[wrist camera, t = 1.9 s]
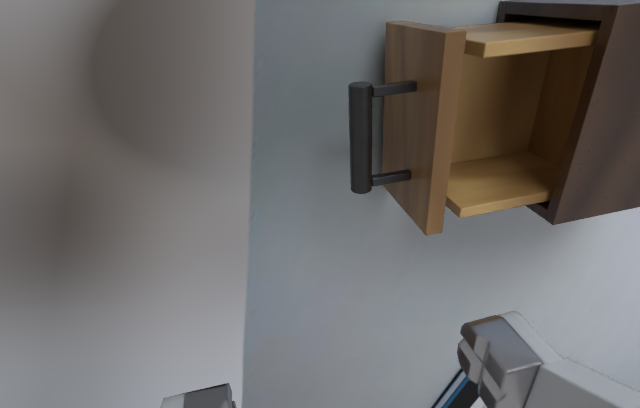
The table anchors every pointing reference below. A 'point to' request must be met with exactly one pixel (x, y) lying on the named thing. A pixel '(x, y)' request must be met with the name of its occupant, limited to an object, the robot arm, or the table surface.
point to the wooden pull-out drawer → (471, 114)
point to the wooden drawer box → (596, 111)
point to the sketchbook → (461, 394)
